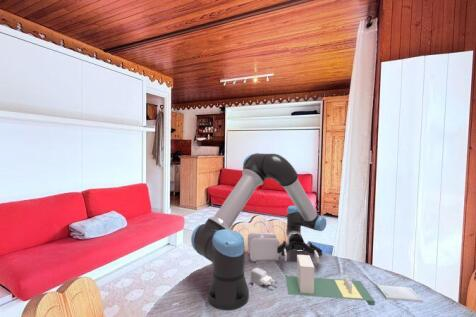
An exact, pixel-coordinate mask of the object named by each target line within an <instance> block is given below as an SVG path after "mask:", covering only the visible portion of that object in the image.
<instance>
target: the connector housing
mask: <svg viewBox="0 0 476 317" xmlns="http://www.w3.org/2000/svg"><path fill="white" fill-rule="evenodd" d="M296 277H297V281H298V286H299V290H300V293H311V294H314V278H315V266H314V262H313V261H312V258H311V256H310V255H309V254H297V255H296Z"/></svg>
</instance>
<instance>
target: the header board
mask: <svg viewBox="0 0 476 317" xmlns="http://www.w3.org/2000/svg"><path fill="white" fill-rule="evenodd" d="M285 282H286V288H287V289H286V290H287V294H288V295H294V296H303V297H304V296H306V297H316V298H317V297H319V298H332V299H342V300H343V299H344V300H354V301H355V300H356V301H357V300H358V301H365V302H366V303H367V305H370V306H375V303H376V301H375V299H374V298H373V296H372V295H371V293H370V292H369V291H368V290H367V288H366V287H365V285H364V283H363V282H362V281H361V280H352V279H350V277H348V274H343V279H338V278H324V277H322V278H321V277H314V294H311V293H300V290H299V286H298V281H297V275H296V276H294V275H293V276H292V275H285Z"/></svg>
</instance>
